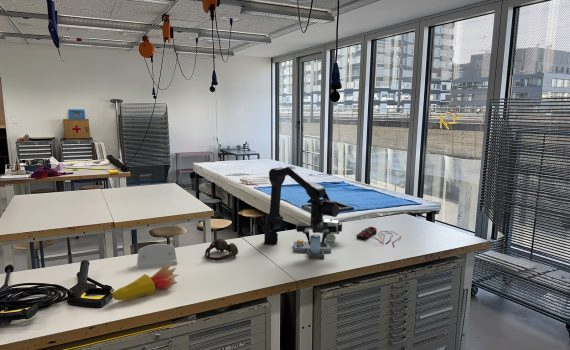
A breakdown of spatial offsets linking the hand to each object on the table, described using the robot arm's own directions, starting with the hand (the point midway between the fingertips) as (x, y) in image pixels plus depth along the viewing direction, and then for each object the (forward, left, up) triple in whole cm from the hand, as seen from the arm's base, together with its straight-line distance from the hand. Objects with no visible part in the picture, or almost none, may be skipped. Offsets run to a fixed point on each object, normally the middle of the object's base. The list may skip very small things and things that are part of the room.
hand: (315, 245), depth 180 cm
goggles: (-45, -2, -6) cm, 46 cm away
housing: (-1, +9, -5) cm, 11 cm away
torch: (-65, -41, -6) cm, 77 cm away
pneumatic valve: (+10, +23, -5) cm, 26 cm away
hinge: (-71, -13, -6) cm, 72 cm away
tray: (0, 0, -5) cm, 5 cm away
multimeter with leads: (+38, +29, -6) cm, 48 cm away
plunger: (-7, +9, -5) cm, 13 cm away
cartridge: (0, 0, -4) cm, 4 cm away
